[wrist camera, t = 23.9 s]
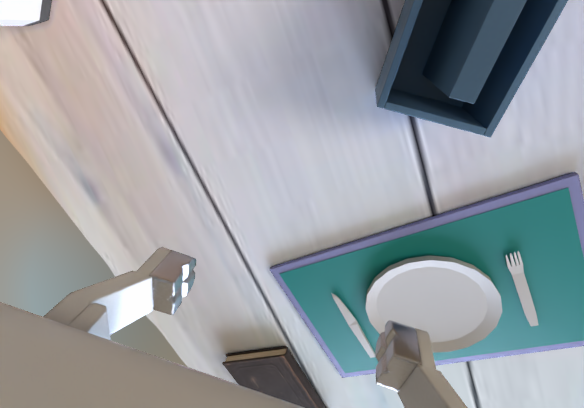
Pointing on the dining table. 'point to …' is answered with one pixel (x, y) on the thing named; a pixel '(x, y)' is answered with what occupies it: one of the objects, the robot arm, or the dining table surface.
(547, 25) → the caddy
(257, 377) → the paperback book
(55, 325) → the robot arm
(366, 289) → the place mat
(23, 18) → the wine bottle
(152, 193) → the dining table surface
